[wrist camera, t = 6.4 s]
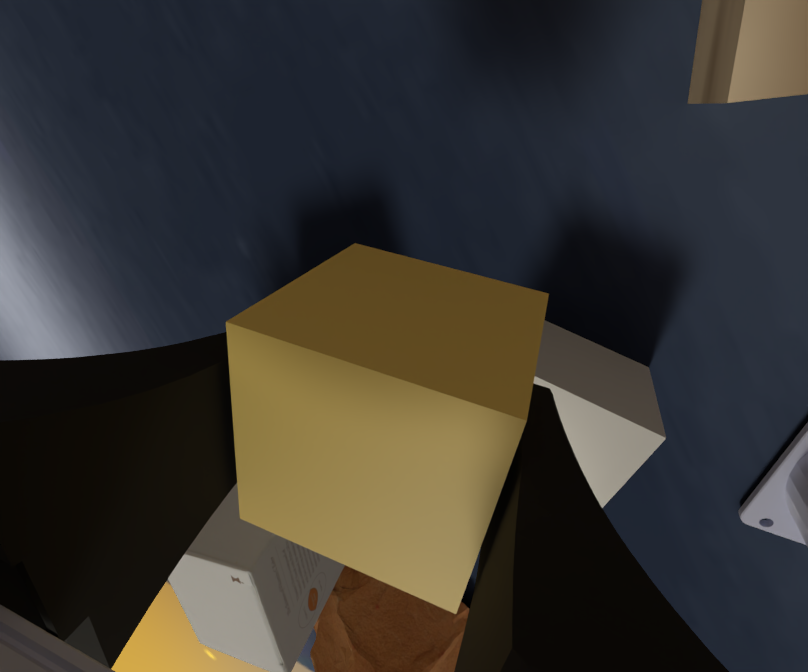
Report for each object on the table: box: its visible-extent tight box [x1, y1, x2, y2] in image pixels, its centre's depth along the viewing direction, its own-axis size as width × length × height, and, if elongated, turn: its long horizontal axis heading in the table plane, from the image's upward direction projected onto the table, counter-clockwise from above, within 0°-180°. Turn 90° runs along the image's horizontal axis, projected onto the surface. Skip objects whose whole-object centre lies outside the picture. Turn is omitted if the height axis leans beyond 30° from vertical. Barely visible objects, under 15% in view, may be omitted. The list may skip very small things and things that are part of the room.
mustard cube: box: [226, 243, 549, 614], centre depth 10 cm, size 5×5×5 cm
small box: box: [168, 483, 345, 672], centre depth 25 cm, size 8×6×10 cm
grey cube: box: [534, 320, 666, 508], centre depth 19 cm, size 5×5×5 cm
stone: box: [310, 565, 470, 672], centre depth 32 cm, size 15×15×10 cm
